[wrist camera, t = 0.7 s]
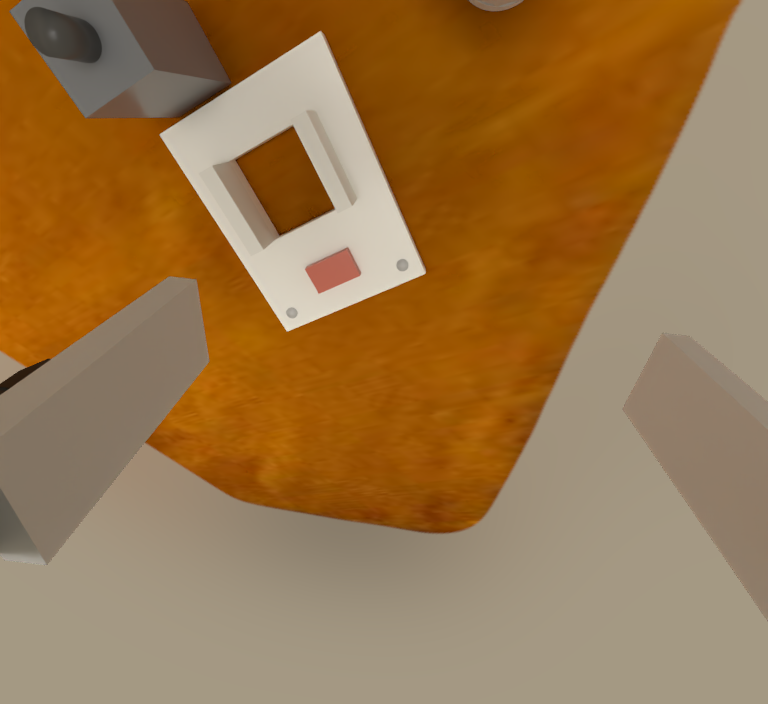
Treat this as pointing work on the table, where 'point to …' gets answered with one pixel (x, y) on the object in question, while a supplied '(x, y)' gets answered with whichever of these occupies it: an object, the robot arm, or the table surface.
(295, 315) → the socket
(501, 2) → the cup
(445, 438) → the table surface
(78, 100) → the plug
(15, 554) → the robot arm
